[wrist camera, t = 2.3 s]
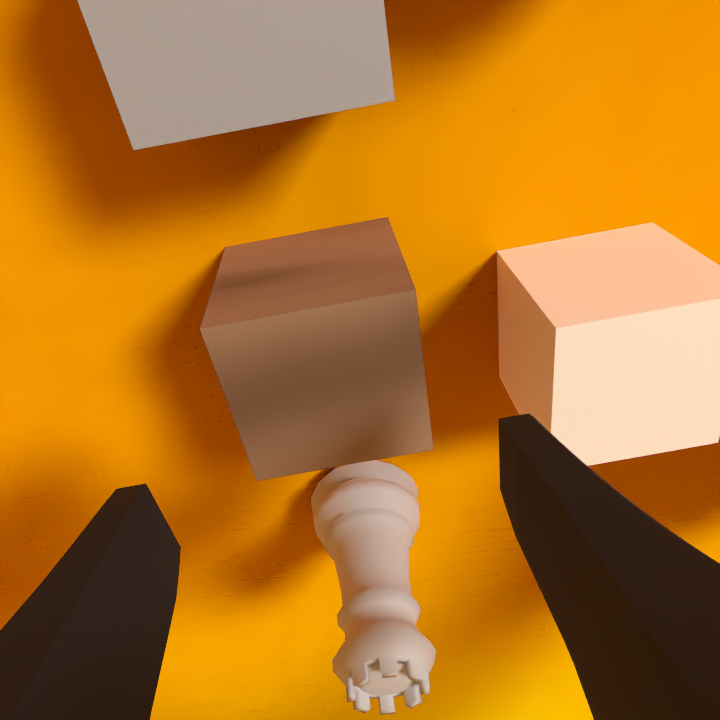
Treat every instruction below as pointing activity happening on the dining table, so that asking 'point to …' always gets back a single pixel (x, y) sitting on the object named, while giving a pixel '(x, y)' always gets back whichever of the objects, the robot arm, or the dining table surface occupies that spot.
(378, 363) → the walnut cube
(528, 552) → the robot arm
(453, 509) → the dining table surface
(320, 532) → the rook chess piece
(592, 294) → the cream cube
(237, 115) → the light grey cube
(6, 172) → the dining table surface
